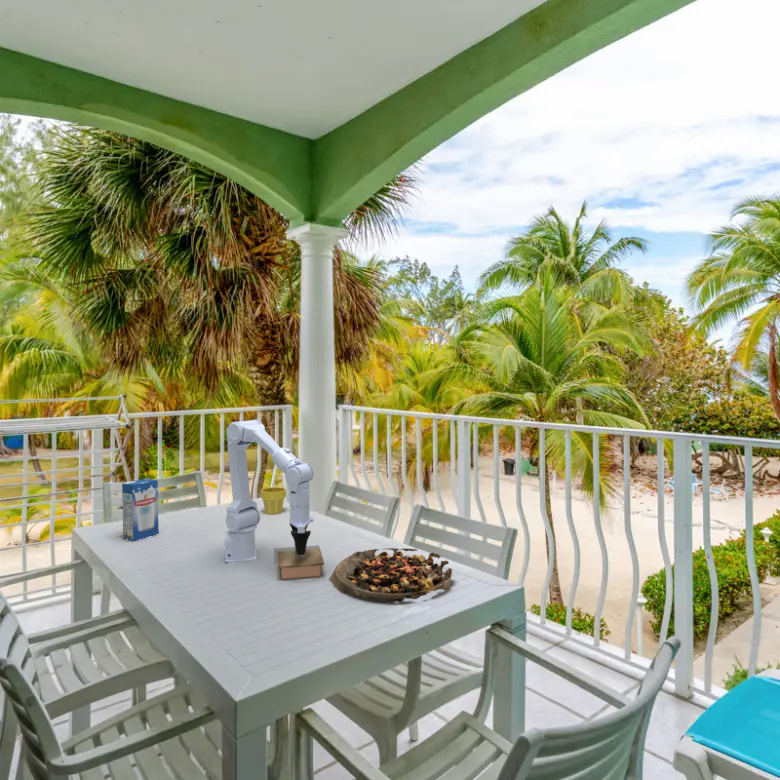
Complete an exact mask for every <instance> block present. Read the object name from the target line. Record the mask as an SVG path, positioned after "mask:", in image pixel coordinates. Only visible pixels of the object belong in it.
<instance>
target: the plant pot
mask: <svg viewBox="0 0 780 780" xmlns="http://www.w3.org/2000/svg"><path fill="white" fill-rule="evenodd" d="M286 497H287V489H286V488H285V487H281V486H269V487H264V488H262V489H261V490H260V498H261V499H262V502H263V505H264V512H265V514H267V515H278V514H281V513H282V510H283V507H284V501H285V498H286Z"/></svg>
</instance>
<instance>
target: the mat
mask: <svg viewBox="0 0 780 780" xmlns="http://www.w3.org/2000/svg"><path fill="white" fill-rule="evenodd" d="M307 549H320V550H321V547H320V545H319V544H318V545H306V550H307ZM293 550H295V546H291V547H290V546H289V547H275V548H274V547H273V561H274V562H273V563H274V565H278V557H277V552H279V551H293Z"/></svg>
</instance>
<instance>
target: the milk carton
mask: <svg viewBox="0 0 780 780" xmlns="http://www.w3.org/2000/svg"><path fill="white" fill-rule="evenodd" d="M158 483H159V482H158V479H153V478H143V479H142V478H141V479H138V480H134V481H128V482H127V481H126V482H122V483H121V484H122V485H121V487H122V489H121V491H122V530H123V531H122V534H123V535H122V538H125V539H128V540H127V541H129V540H132V541H131V542H133V541H135V542H137V541H136V540H139V539H142V540H144V539H143V538H146V537H149V536H152V537H154V536H153V535H156V534H159V533H160V531H159V491H158V490H159V489H158V488H159V485H158ZM156 536H157V535H156ZM149 538H150V537H149ZM125 539H124V540H125ZM146 539H147V538H146ZM139 541H140V540H139Z"/></svg>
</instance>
